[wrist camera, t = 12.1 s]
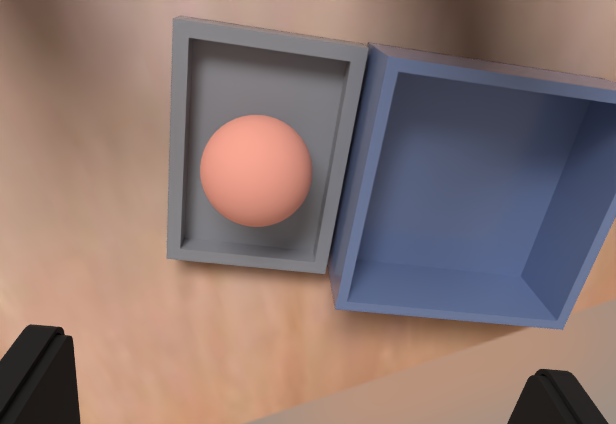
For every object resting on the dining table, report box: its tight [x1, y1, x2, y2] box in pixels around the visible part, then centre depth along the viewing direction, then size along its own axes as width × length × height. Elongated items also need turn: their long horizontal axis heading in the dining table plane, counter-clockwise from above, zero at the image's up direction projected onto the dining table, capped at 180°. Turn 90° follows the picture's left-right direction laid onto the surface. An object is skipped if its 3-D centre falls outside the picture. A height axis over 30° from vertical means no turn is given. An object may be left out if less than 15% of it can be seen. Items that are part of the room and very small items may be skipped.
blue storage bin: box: [327, 43, 616, 330], centre depth 28 cm, size 14×14×6 cm
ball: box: [200, 115, 313, 227], centre depth 26 cm, size 6×6×6 cm
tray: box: [167, 16, 369, 274], centre depth 28 cm, size 10×14×2 cm
